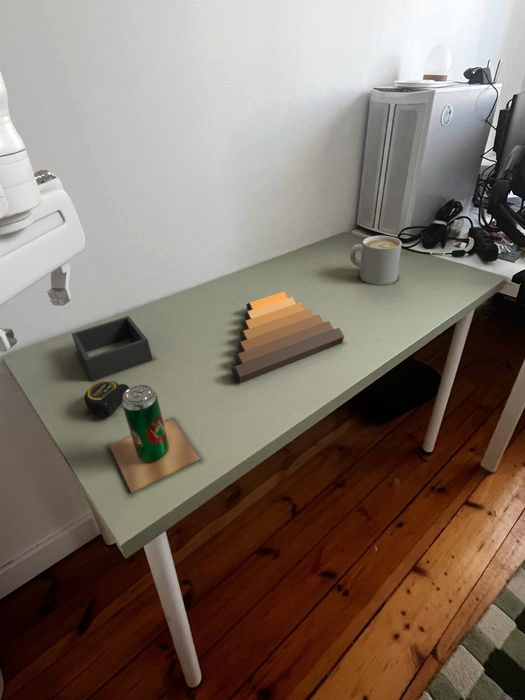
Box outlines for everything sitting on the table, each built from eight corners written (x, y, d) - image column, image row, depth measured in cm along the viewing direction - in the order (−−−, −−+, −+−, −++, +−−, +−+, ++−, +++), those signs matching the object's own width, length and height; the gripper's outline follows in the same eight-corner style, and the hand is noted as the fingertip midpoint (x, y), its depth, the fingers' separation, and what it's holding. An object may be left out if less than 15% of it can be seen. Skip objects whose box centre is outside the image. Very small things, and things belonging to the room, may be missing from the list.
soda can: (134, 446, 70) (117, 388, 63) (165, 436, 72) (151, 379, 65) (140, 468, 66) (122, 409, 60) (173, 457, 68) (159, 398, 61)
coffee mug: (403, 275, 120) (408, 240, 114) (385, 288, 114) (389, 251, 108) (362, 264, 128) (364, 231, 122) (342, 275, 122) (344, 241, 116)
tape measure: (111, 422, 76) (106, 406, 74) (80, 414, 78) (74, 398, 76) (134, 398, 81) (130, 383, 79) (105, 391, 83) (100, 375, 81)
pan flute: (240, 385, 83) (343, 344, 93) (239, 371, 81) (344, 331, 91) (190, 330, 101) (281, 301, 111) (188, 317, 99) (280, 289, 109)
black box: (92, 381, 86) (85, 360, 83) (77, 352, 95) (71, 333, 92) (152, 359, 92) (147, 339, 89) (133, 334, 101) (128, 315, 98)
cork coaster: (131, 493, 63) (130, 491, 63) (110, 447, 71) (109, 445, 71) (199, 460, 68) (199, 458, 67) (172, 420, 75) (172, 418, 75)
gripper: (29, 165, 48) (67, 281, 55) (-156, 224, 31) (-66, 377, 39) (80, 165, 46) (111, 283, 54) (-86, 226, 30) (-7, 384, 38)
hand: (36, 323), depth 46 cm, fingers open, 8 cm apart
